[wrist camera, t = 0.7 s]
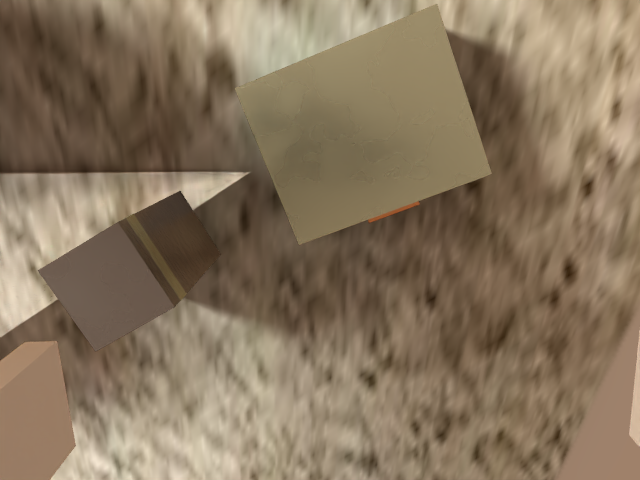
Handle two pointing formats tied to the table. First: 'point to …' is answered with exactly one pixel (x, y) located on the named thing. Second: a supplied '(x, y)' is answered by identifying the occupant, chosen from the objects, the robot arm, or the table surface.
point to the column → (132, 270)
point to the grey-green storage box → (366, 127)
